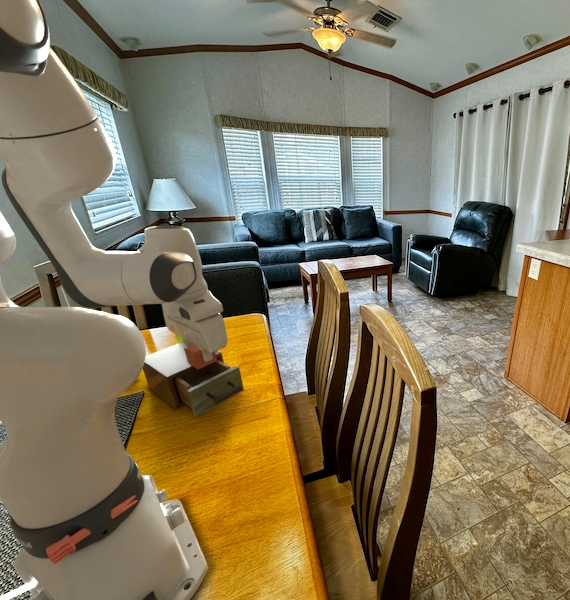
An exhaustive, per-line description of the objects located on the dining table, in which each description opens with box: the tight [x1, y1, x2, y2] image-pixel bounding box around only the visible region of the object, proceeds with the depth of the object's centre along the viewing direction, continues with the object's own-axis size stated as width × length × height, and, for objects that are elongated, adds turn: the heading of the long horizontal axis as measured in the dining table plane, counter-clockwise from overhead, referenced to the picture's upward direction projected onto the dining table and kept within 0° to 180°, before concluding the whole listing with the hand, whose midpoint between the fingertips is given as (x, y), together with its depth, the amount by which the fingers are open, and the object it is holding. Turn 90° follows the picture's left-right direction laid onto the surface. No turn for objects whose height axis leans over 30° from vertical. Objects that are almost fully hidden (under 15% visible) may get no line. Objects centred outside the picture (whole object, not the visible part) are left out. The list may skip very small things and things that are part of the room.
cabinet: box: [142, 341, 225, 409], centre depth 84 cm, size 15×13×9 cm
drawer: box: [172, 359, 245, 418], centre depth 78 cm, size 18×12×7 cm, turn 57°
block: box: [184, 344, 217, 369], centre depth 76 cm, size 4×4×4 cm
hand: (201, 356), depth 76 cm, fingers closed on block, 4 cm apart
